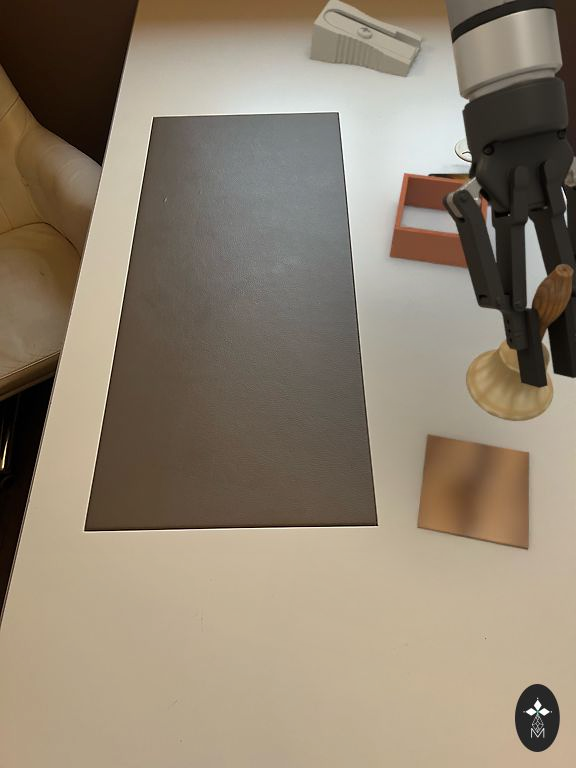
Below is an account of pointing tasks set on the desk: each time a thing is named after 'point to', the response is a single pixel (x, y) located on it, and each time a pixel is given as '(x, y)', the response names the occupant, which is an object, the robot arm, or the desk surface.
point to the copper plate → (475, 491)
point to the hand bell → (500, 366)
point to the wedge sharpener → (362, 40)
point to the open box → (424, 241)
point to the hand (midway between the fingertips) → (550, 378)
